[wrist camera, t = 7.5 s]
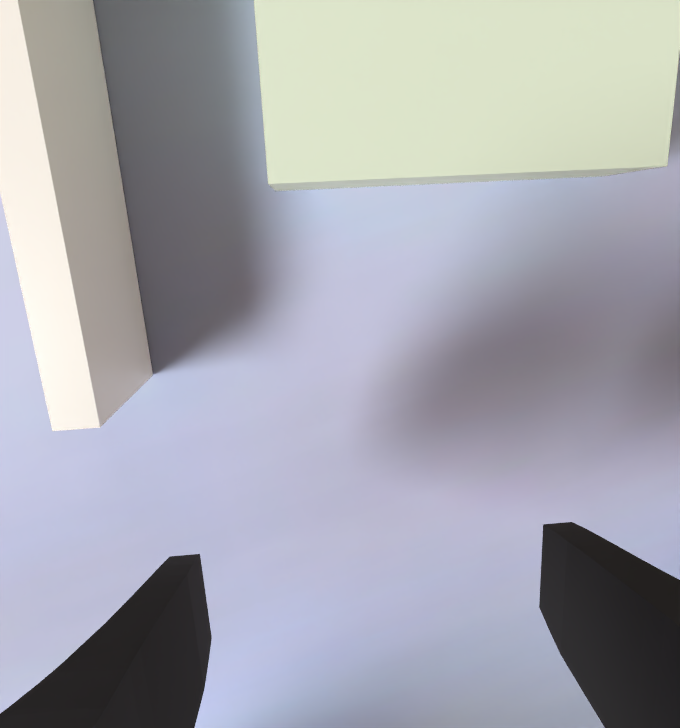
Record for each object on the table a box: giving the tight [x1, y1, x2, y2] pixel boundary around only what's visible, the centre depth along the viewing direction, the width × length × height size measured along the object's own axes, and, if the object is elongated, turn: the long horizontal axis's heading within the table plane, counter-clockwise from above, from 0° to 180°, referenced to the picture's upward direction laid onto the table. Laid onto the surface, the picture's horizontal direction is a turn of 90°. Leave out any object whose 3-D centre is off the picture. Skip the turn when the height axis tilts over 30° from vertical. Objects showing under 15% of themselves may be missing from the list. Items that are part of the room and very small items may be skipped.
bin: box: [0, 0, 153, 431], centre depth 12 cm, size 13×19×4 cm
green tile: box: [254, 0, 680, 191], centre depth 12 cm, size 6×9×3 cm, turn 93°
